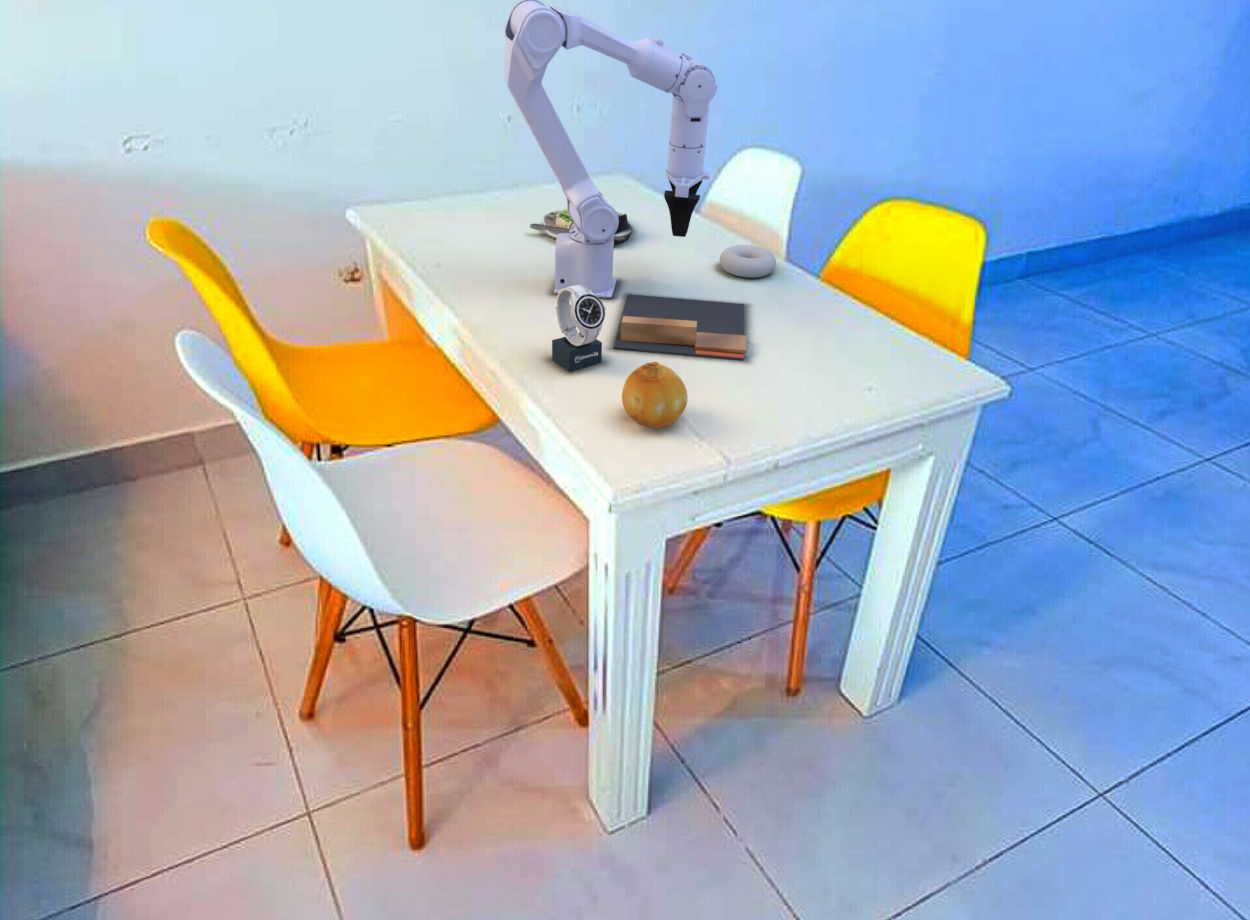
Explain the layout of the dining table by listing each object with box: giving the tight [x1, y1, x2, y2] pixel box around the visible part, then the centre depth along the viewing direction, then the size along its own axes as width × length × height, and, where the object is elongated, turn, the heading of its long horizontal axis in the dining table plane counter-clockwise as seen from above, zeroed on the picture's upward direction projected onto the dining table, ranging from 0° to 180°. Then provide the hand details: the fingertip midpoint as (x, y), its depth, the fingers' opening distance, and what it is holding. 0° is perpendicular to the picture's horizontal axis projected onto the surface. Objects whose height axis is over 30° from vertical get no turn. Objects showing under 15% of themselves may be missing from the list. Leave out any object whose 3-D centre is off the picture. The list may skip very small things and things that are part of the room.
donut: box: [719, 244, 777, 279], centre depth 161 cm, size 10×4×10 cm
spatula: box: [621, 316, 748, 354], centre depth 135 cm, size 18×5×3 cm, turn 84°
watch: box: [551, 285, 607, 373], centre depth 127 cm, size 6×8×11 cm
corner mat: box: [612, 293, 745, 361], centre depth 141 cm, size 19×20×1 cm
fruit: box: [621, 361, 689, 429], centre depth 115 cm, size 8×8×8 cm
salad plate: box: [529, 208, 633, 245], centre depth 173 cm, size 19×18×5 cm
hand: (680, 228), depth 151 cm, fingers open, 7 cm apart
